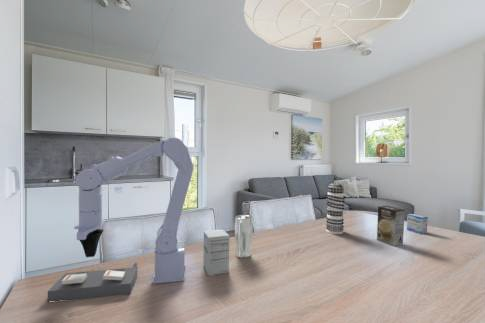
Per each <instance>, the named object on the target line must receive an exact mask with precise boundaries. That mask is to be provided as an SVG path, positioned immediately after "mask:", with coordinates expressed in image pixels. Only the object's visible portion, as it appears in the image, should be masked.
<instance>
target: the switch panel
mask: <svg viewBox="0 0 485 323" xmlns="http://www.w3.org/2000/svg"><path fill="white" fill-rule="evenodd" d="M137 265H138V263H137V262H135V263H133V266H132V267H124V268H123V267H122V268H112V269H111V268H110V269H100V270H99V269H98V270H88V271H73V272H65V273H64V274H63V276H61V277H60V279H58V280H57V282H55V283H54V284H53V286H52V287H51V288H49V289H48V290H47V302H48V301H59V302H61V301H60V300H69V301H75V299H76V300H86V299H95V298H103V297H105V298H106V297H113V296H123V295H124V296H125V295H131V294H132V292H133V289H134V287H135V283H136V282H137V278H138V267H137ZM107 270H111V271H124V272H125V275H124V277H123V279H122V280H108V279H103V275H104V274H105V272H106V271H107ZM85 273H87V278H86V279H85V280H84V281H83V283H72V284H62V280H63V279H64V278H65V277H66V276H67V275H74V274H85Z"/></svg>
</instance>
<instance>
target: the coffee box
mask: <svg viewBox="0 0 485 323" xmlns="http://www.w3.org/2000/svg"><path fill="white" fill-rule="evenodd" d="M377 208H378V209H377V227H376V230H377V231H376V240H377V241H379V242H382V243H385V244H386V245H390V246H393V247H397V246H403V245H404V234H405V232H404V228H405V213H406V212H405V211H406V210H405V209H402V208H398V207H394V206H390V205H382V206H377Z"/></svg>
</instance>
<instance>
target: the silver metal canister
mask: <svg viewBox="0 0 485 323" xmlns="http://www.w3.org/2000/svg"><path fill="white" fill-rule="evenodd" d="M234 218H235V219H234V236H235V237H234V238H235V243H236V247H235V249H236V250H235V256H236V257H237V258H240V259H247V258H249V257H251V255H252V252H251V241H252V236H253V216H251V215H249V214H248V215H247V214H239V215H235V217H234Z"/></svg>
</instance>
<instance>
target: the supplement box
mask: <svg viewBox="0 0 485 323" xmlns="http://www.w3.org/2000/svg"><path fill="white" fill-rule="evenodd" d="M203 268H204V269H205V271H206V274H207V275H208V276H215V275H219V274H225V273H229V272H230V234H229V233H227V232H226V231H225V229H221V228H220V229H211V230H204V231H203Z"/></svg>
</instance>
